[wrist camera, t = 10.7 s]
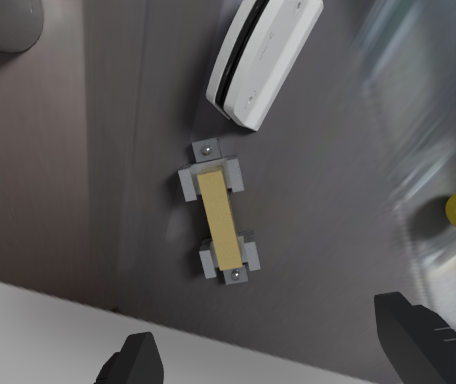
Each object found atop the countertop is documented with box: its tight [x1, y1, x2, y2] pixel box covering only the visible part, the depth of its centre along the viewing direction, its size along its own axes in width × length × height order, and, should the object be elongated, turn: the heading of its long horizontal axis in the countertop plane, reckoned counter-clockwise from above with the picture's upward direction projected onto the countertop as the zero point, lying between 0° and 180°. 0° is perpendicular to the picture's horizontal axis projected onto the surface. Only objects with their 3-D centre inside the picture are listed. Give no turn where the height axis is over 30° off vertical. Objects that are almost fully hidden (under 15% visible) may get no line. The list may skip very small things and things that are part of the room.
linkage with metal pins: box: [178, 137, 260, 285], centre depth 39 cm, size 7×21×4 cm, turn 12°
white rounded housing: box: [206, 0, 323, 131], centre depth 32 cm, size 17×5×10 cm, turn 153°
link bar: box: [197, 166, 243, 271], centre depth 38 cm, size 3×13×3 cm, turn 12°
